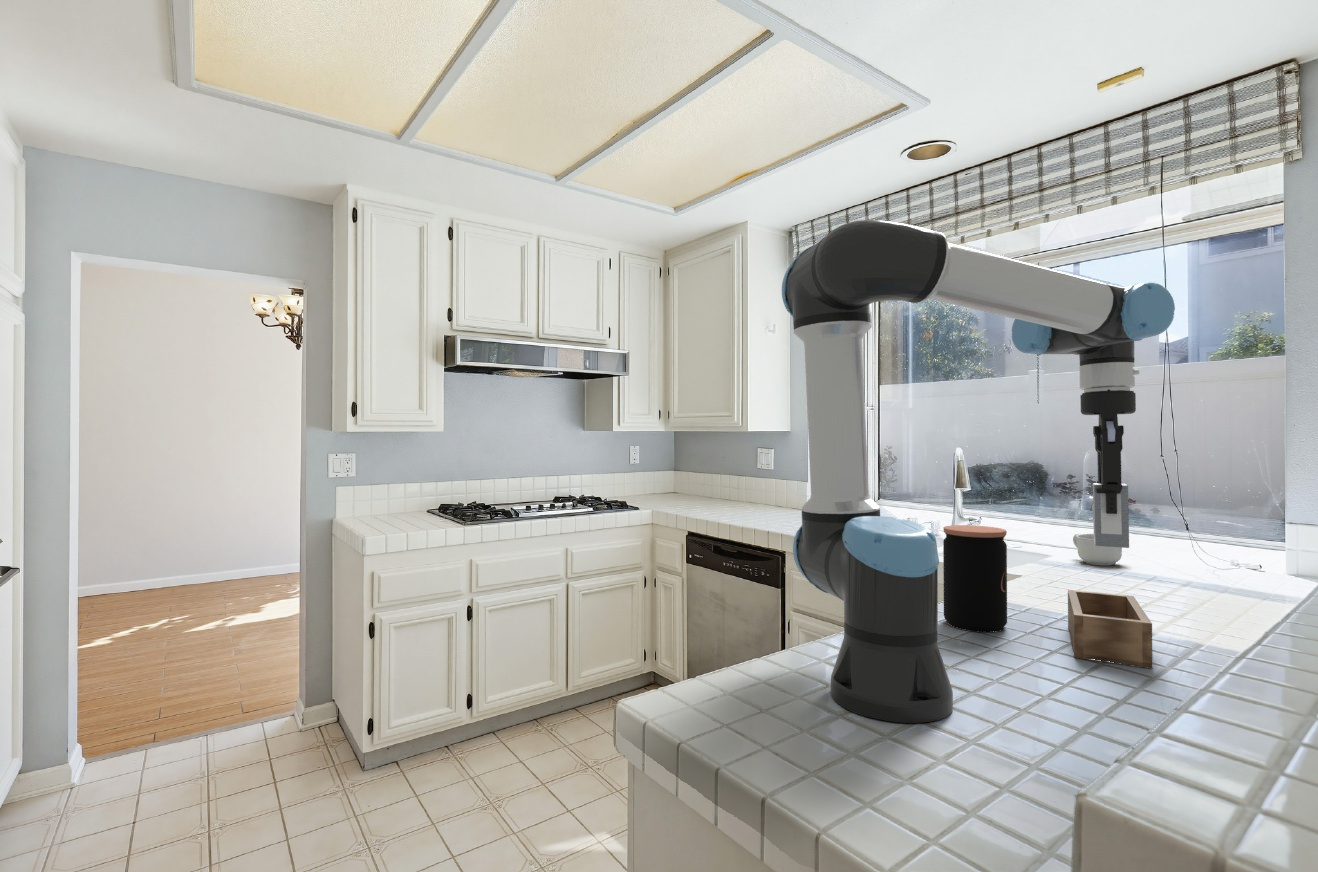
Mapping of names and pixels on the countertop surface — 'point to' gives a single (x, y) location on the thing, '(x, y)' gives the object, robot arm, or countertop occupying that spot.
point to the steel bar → (1123, 539)
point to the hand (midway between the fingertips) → (1110, 531)
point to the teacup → (1096, 551)
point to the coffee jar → (975, 577)
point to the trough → (1109, 628)
